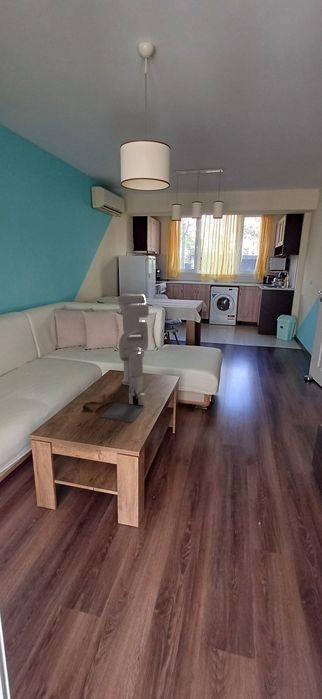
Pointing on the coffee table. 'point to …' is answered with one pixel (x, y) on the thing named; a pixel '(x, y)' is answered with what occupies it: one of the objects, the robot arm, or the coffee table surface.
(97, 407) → the sunglasses case
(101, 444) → the coffee table surface
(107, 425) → the coffee table surface
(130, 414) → the mat
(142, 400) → the block
